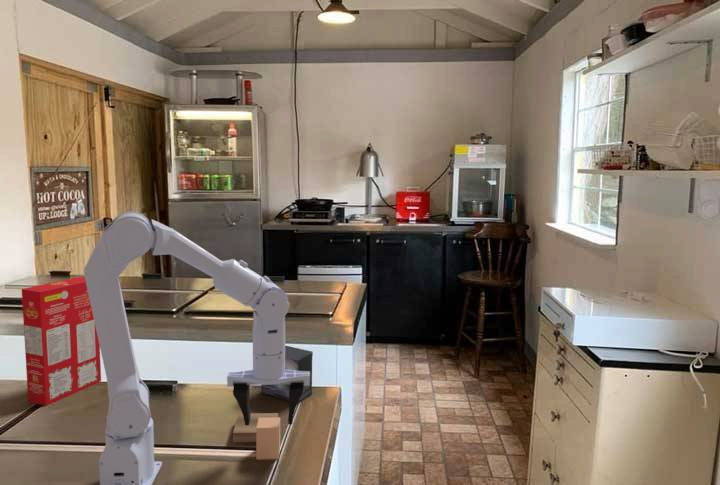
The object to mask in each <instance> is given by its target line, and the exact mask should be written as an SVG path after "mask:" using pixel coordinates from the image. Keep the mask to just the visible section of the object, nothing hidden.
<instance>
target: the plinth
mask: <svg viewBox="0 0 720 485" xmlns="http://www.w3.org/2000/svg"><path fill="white" fill-rule="evenodd" d="M271 417H279V412H272V413H271V412H268V413H267V412H265V413H256V412H255V413H254V412H252V413H251V412H250V423H249V425H245V421H244V417H243V413H238V414H237V418H236V421H235V425H234V426H233V427H234V428H233V432H232V444H239V443H240V444H241V443H244V444H245V443H256V428H257V423H258V418H271Z"/></svg>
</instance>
